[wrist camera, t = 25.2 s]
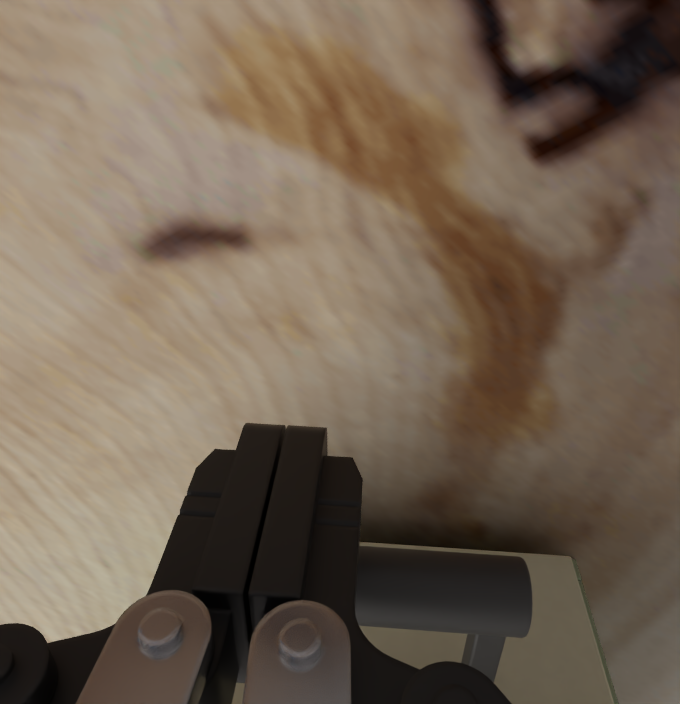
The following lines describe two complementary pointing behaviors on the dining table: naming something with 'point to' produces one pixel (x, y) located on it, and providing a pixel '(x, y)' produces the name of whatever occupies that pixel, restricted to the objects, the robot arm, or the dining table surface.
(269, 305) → the dining table surface
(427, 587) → the drawer
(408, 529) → the dining table surface
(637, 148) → the dining table surface
